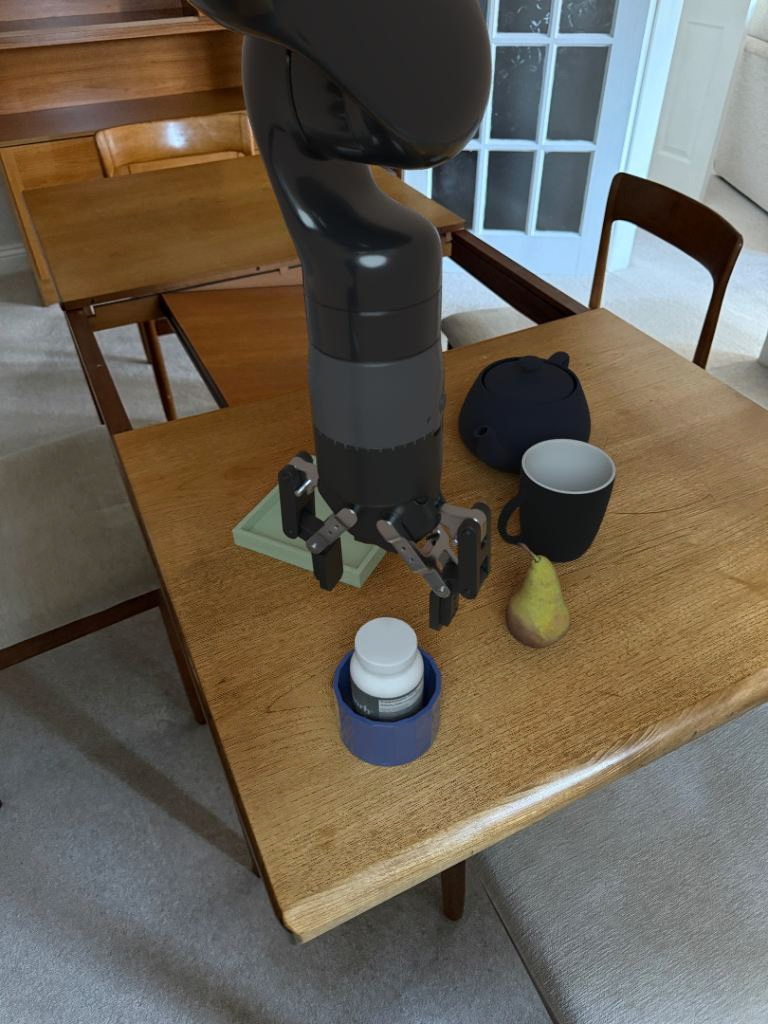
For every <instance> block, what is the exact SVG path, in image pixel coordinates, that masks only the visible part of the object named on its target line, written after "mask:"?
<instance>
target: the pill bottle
mask: <svg viewBox="0 0 768 1024" xmlns="http://www.w3.org/2000/svg"><path fill="white" fill-rule="evenodd" d="M417 645H418V637H417V634H416V632H415V630H414V629H413V627H412V626H411V625H409V624H408V623H407V622H406V621H404V620H401V619H399V618H395V617H391V616H389V617H388V616H385V617H384V616H381V617H377V618H373V619H371V620H369V621H367V622H365V623H364V624H362V625H361V627H360V628H359V629H358V630H357V632H356V634H355V637H354V648H355V651H354V653H353V655H352V658H351V662H350V676H351V688H352V700H353V712H354V713H355V714H357V715H360V716H362V717H364V718H367V719H369V720H371V721H378V722H396V721H400V720H403V719H406V718H410V717H413V716H414V715H416V714H417V713H418V712H420V711H421V710H422V709H423V687H424V664H423V659H422V656H421V653H420V652H419V650H418V649H417Z"/></svg>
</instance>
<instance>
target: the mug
mask: <svg viewBox="0 0 768 1024" xmlns="http://www.w3.org/2000/svg"><path fill="white" fill-rule="evenodd" d="M616 469H617V468H616V464H615V462H614V461H613V459H612V458H611V457H610V455H608V454H607V452H605V451H604V450H602V449H601V448H599V447H598V446H596V445H593V444H590V443H589V442H588V443H585V442H582V441H577V440H570V439H553V440H547V441H543V442H540V443H538V444H536V445H534V446H532V447H531V448H529V449H528V450H527V451H526V452H525V454H524V455H523V458H522V461H521V467H520V475H519V482H518V492H517V493H515V495H513V496H512V497H511V498H510V499H509V500H508V501H507V502H506V503H505V505H504V507H502V509H501V511H500V513H499V516H498V517H497V518H498V519H497V524H496V525H497V532H498V534H499V537H500V538H501V539H502V540H503V541H504V542H506V543H507V544H510V545H515V546H517V543H518V542H520V543H523V544H524V545H526V546H527V547H528V548H529V550H530V551H531V552H532V553H533V554H535V555H536V556H538V555H541V556H544V557H546V558H547V559H548V560H549V561H550V562H551V563H569V562H573V561H576V560H578V559H579V558H581V557H582V556H583V555H584V554H586V552H587V551H588V550H589V549H590V548H591V546H592V545H593V542H594V541H595V539H596V538H597V535H598V532H599V530H600V528H601V526H602V523H603V520H604V518H605V515H606V512H607V509H608V506H609V503H610V499H611V496H612V493H613V489H614V485H615V480H616V475H617V470H616ZM517 509H518V514H519V515H518V518H519V525H520V533H519V534H517V535H511V534H508V530H507V526H508V523H509V522H510V518H511V517H512V515H513V514H514V512H515V511H516V510H517Z"/></svg>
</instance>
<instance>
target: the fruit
mask: <svg viewBox="0 0 768 1024" xmlns="http://www.w3.org/2000/svg"><path fill="white" fill-rule="evenodd" d="M516 547H520V548H521V549H523V550H524V551H526V552H527V553H528V554H529V555H530V556H531V557H532V559H531V562H530V565H529V567H528V569H527V572H526V574H525V578H524V580H523V583H522V585H521V587H520V588H519V589H518V591H516V592H515V593H514V594H513V595H512V596H511V597H510V599H509V600H508V602H507V605H506V608H505V625H506V628H507V630H508V632H509V634H510V635H511V636H512V637H513V638H514V639H516V641H517V642H519V643H520V644H523V645H525V646H526V647H530V648H533V649H545V648H548V647H551V646H553V645H555V644H557V643H558V642H559V641H561V640H562V639H563V638H565V636H566V635H567V634H568V632H569V630H570V628H571V625H572V618H571V616H572V615H571V612H570V608H569V605H568V603H567V602H566V600H565V599H564V596H563V591H562V586H561V583H560V580H559V577H558V576H559V575H558V572H557V569H556V568H555V567H554V565H553V562H551V561H549V560H548V559H547V558H546V557H544V556H541V555H538V556H536V555H535V554H533V553H532V552H531V551H530V550H529V548H528V547H527V546H526V544H523V543H520V542H518V543H517V545H516Z"/></svg>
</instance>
